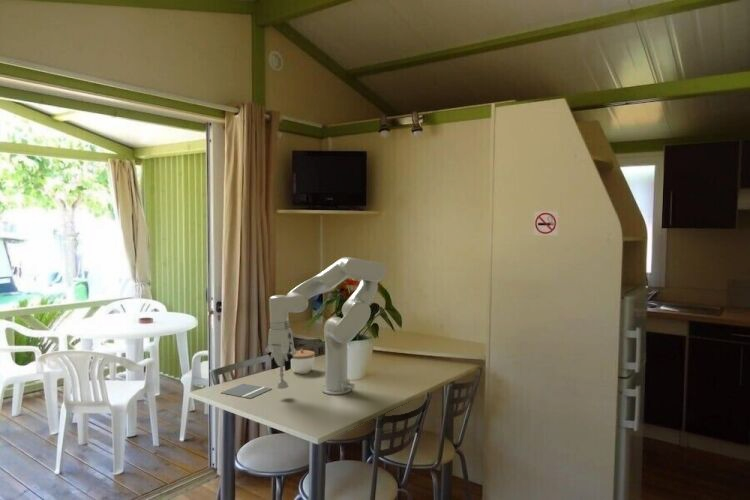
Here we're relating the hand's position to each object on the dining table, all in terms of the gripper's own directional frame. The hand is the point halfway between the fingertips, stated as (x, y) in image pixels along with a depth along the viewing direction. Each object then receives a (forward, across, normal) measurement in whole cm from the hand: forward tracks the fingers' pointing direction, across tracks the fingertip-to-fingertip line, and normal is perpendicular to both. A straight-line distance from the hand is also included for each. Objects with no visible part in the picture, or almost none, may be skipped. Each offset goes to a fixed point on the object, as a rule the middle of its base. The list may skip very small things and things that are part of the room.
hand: (281, 368), depth 207 cm
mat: (+12, +19, 0) cm, 22 cm away
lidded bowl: (+13, +15, -36) cm, 41 cm away
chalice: (+8, 0, 0) cm, 8 cm away
